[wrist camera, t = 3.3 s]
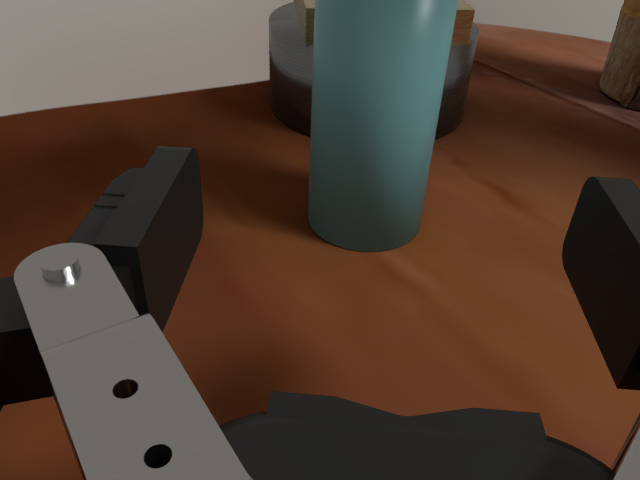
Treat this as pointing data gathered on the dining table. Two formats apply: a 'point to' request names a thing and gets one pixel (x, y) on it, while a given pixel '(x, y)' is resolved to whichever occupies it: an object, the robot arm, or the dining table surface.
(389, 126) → the bottle
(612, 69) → the sculpture
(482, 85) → the dining table surface
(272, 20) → the disc with square collar
